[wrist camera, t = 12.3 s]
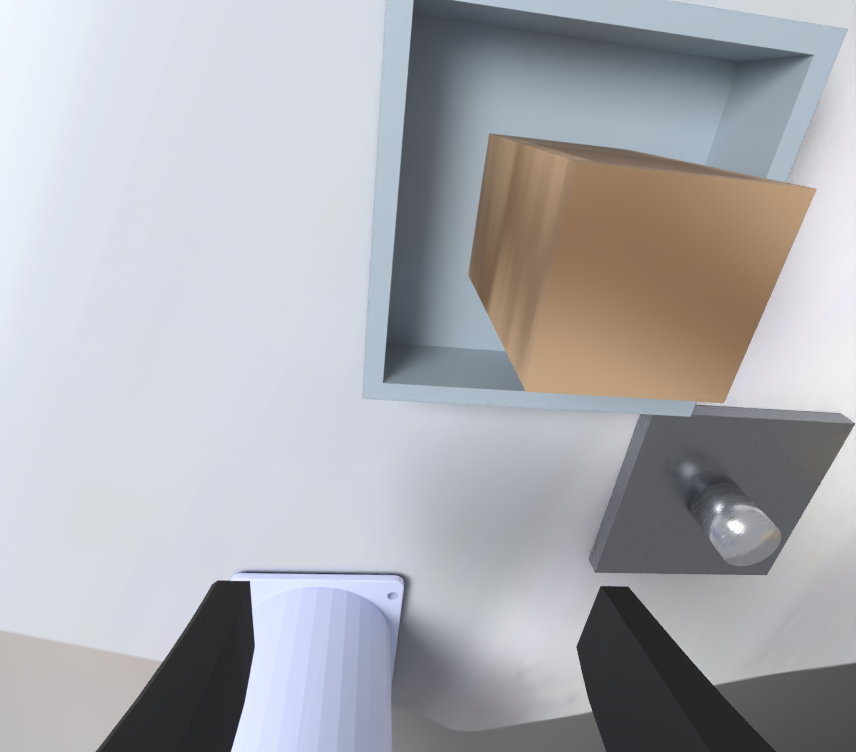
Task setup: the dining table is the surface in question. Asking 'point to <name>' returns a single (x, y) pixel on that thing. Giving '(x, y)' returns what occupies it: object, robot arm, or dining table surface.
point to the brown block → (626, 266)
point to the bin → (557, 121)
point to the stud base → (704, 459)
